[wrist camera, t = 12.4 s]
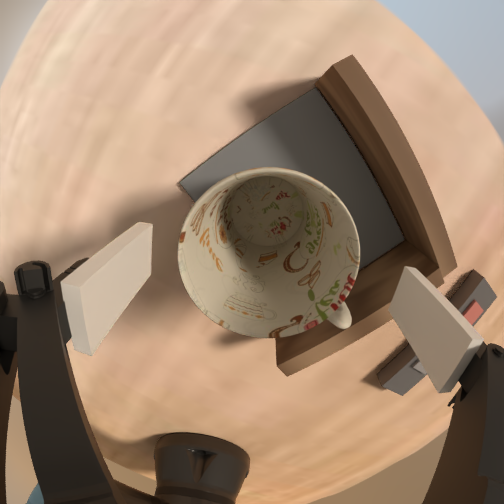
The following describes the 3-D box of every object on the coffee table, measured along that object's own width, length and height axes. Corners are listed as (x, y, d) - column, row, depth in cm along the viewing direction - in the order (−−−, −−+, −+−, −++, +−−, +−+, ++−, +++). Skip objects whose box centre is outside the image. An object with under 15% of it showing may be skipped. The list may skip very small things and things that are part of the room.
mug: (265, 133, 20) (267, 125, 11) (373, 246, 23) (429, 311, 13) (191, 212, 22) (142, 264, 13) (301, 309, 25) (317, 395, 16)
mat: (283, 312, 26) (284, 315, 25) (181, 181, 22) (179, 182, 21) (402, 237, 23) (404, 239, 22) (314, 88, 19) (315, 87, 18)
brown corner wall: (283, 331, 27) (287, 376, 21) (167, 187, 22) (137, 204, 16) (423, 243, 23) (458, 271, 17) (329, 75, 18) (352, 54, 13)
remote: (397, 384, 29) (403, 398, 27) (376, 374, 29) (382, 388, 26) (487, 288, 24) (499, 298, 22) (473, 269, 23) (486, 279, 21)
